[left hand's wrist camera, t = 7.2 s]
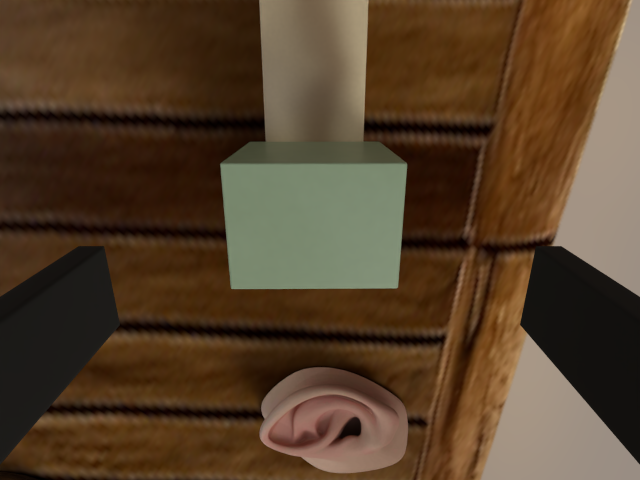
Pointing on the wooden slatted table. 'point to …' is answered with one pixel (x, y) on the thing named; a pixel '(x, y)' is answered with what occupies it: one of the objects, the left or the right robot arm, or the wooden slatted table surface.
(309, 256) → the green block
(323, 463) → the anatomical model
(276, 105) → the birch board
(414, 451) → the wooden slatted table surface
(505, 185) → the wooden slatted table surface
